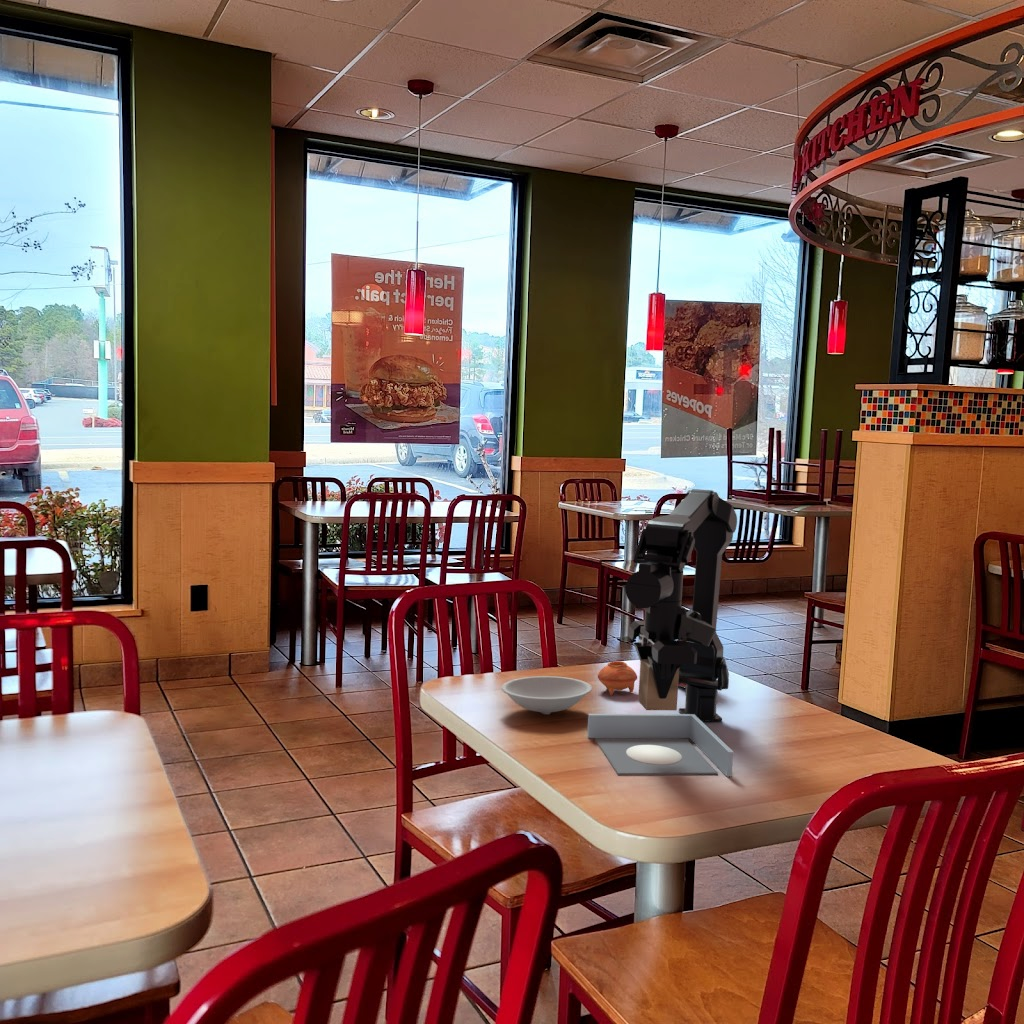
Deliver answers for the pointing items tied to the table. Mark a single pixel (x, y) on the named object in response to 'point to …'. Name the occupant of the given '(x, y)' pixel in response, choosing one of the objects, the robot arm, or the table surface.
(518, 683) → the dish
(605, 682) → the pot
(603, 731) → the low wall
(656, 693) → the walnut block
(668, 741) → the mat
